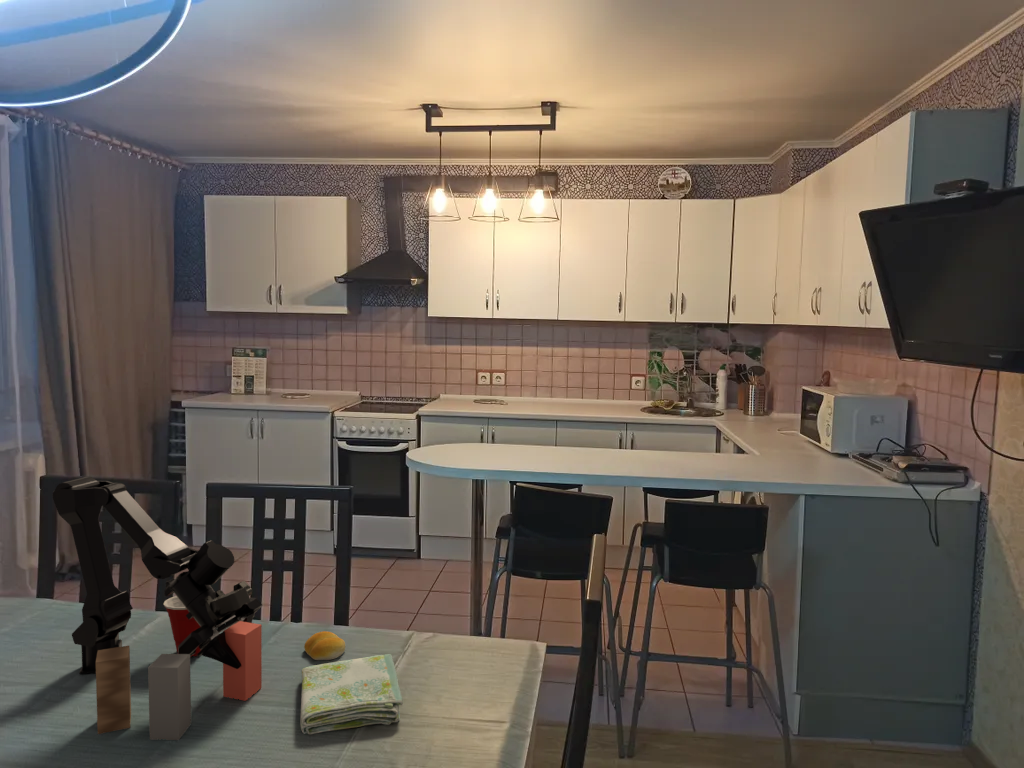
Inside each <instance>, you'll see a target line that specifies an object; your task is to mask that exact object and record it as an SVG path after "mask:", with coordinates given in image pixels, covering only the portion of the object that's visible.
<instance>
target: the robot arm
mask: <svg viewBox="0 0 1024 768" xmlns="http://www.w3.org/2000/svg"><path fill="white" fill-rule="evenodd" d="M52 499H53V500H52V501H53V503H54V506H55V508H56V510H57V514H58V516H60V517H61V518H62V519H63V520H64V521H65V523H67V524H69V526H70V528H71V533H72V536H73V540H74V545H75V549H76V553H77V558H78V562H79V567H80V571H81V575H82V578H83V583H84V587H85V590H86V596H85V599H84V602H83V605H82V608H81V612H82V623H81V624H80V625H79V626H78V627H76V629H74V631H73V632H72V633H71V638H72V640H73V643H74V644H75V645H80V646H81V667H80V669H79V675H83V674H94V673H95V674H96V658H97V652H98V650H103V649H110V648H116V647H123V640H122V639H120V636H119V635H120V633H121V632H124V631H125V630H126V628H127V625H128V623H129V621H130V619H131V618H132V611H133V605H132V604H131V601H130V595H129V592H128V590H124V591H121V590H120V589H119V588H118V587H117V586H115V582H114V579H113V574H112V572H111V571H112V569H111V567H110V561H109V559H108V554H107V549H106V546H105V541H104V538H103V533H102V529H101V525H100V520H99V518H100V514H101V511H102V508H104V509H105V510H106V511H107V512H108V513H109V514H110V515H111V517H112V518H113V520H115V521H116V522H117V523H118V525H119V526H120V527H121V528H122V529H123V530H124V531H125V533H126V534H127V535H128V536H129V537H130V539H131V540H132V541H133V542H134V543H135V544H136V545H137V546H138V548H139V550H140V557H141V561H142V563H143V564H144V566H145V568H146V569H147V571H148V572H149V573H150V575H151V576H152V578H154V579H156V580H158V579H159V580H164V579H165V580H166V579H168V578H170V577H172V576H174V575H177V574H178V573H179V574H178V575H177V576H176V577H175V578H172V579H169V580H167V581H166V582H165V589H164V592H163V595H164V597H165V598H166V597H169V596H171V595H173V594H174V595H175V596H177V597H178V598H179V600H180V601H181V602H182V603H183V605H184V606H185V607H186V609H187V610H188V611H189V613H188V614H187V615H186V617H187V618H188V619H191V618H194V619H195V620H196V621H197V623H198V624H199V625H200V626H201V627H200V628H198V629H196V630H195V631H193V632H191V633H190V634H189V635H188V636H187V637H186V639H185V640H184V641H183V642H182V643H181V644H180V645H179V646H178V652H177V654H178V653H179V654H190V656H192V655H194V654H195V653H196V649H197V647H198V646H199V648H200V650H201V651H200V652H199V653H198V654H197V656H198V657H200V656H203V657H205V658H209V659H210V660H211V659H212V660H214V661H218V662H220V663H222V664H223V663H224V664H226V665H229V666H231V667H233V668H235V669H238V668H240V667H241V663H240V662H239V660H238V658H237V657H236V655H235V654H234V653H233V651H232V650H231V648H230V647H229V646H228V644H227V643H226V638H225V631H224V630H226V629H227V628H229V627H231V626H232V625H234V624H236V623H237V622H239V621H242V622H248V623H253V619H254V617H255V613H256V612H258V611H259V610H260V608H262V607H263V604H262V603H261V602H260V601H259V599H258V598H257V597H250V596H252V594H253V588H251V586H250V585H249V584H248V583H247V582H246V581H245V580H242V581H240V582H238V583H235V584H234V585H233V590H232V591H230V592H227V593H224V591H223V590H221V589H217V590H216V591H215V590H214V589H213V587H212V585H215V584H216V583H217V582H218V581H219V580H220V578H221V577H222V576H224V575H225V574H226V572H228V570H229V569H231V567H232V566H233V565H234V564H235V555H234V554H233V552H232V550H230V548H227V547H226V546H224V545H222V544H216V543H215V542H214V541H213V540H211V539H210V540H208V541H206V542H204V543H203V544H202V545H201V546H200V548H199V549H198V550H197V549H194V548H191V547H189V546H188V545H187V544H185V543H184V542H183V541H181V540H180V539H179V538H178V537H177V536H174V535H172V534H170V533H167V532H165V531H164V530H163V529H161V528H160V527H159V525H157V523H155V521H154V520H153V518H151V516H150V515H149V514H148V513H147V512H146V511H145V510H144V509H143V508H142V507H141V506H140V504H139V503H138V502H137V501H136V500H135V499H134V498H133V496H131V494H130V493H129V491H128V488H127V486H126V485H125V484H124V483H121V482H112V481H109V480H96V479H95V478H94V477H91V476H85V477H81V478H76V479H72V480H68V481H64V482H61V483H58V485H56V486H55V489H54V490H53V491H52ZM187 569H188V570H187ZM185 570H186V571H185ZM197 656H196V657H197Z"/></svg>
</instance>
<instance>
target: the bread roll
mask: <svg viewBox="0 0 1024 768" xmlns="http://www.w3.org/2000/svg"><path fill="white" fill-rule="evenodd" d="M303 648H304V652H305V653H306V654H307V655H308V656H309V657H311V659H313V660H315V661H329V660H330V661H332V660H334V659H337V658H339V657H341V656H342V655H343V653H344V652H345V651H346V642H345V640H344V639H343V638H340V637H339V636H338V635H337V634H336V633H333V632H332V631H327V630H326V631H318V632H316V633H314V634H312V635H311V636H310V637H309V638H308V639H306V641H305V643H304V646H303Z"/></svg>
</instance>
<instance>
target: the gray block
mask: <svg viewBox="0 0 1024 768" xmlns="http://www.w3.org/2000/svg"><path fill="white" fill-rule="evenodd" d="M147 668H148V669H147V671H148V673H147V677H148V685H147V686H148V717H149V718H148V719H149V720H148V721H149V722H148V724H149V740H150V741H151V740H153V741H179V740H180V739H181V738H182V736H183V735H184V734H185V733H186V731H187V730H188V729H189V727H190V726H191V725H192V694H191V693H192V690H191V684H192V683H191V657H190V654H178V653H161V654H159V656H158V657H157V658H156V659H155V660H153V662H152V663H151V664H150V665H149V666H148V667H147ZM190 724H191V725H190ZM158 739H159V740H158ZM161 739H163V740H161ZM164 739H166V740H164Z"/></svg>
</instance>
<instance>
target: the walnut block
mask: <svg viewBox="0 0 1024 768" xmlns="http://www.w3.org/2000/svg"><path fill="white" fill-rule="evenodd" d="M130 648H131V647H130V645H122V647H116V648H110V649H103V650H98V652H97V658H96V673H95V684H96V685H95V686H96V719H97V720H96V721H97V724H96V725H97V735H101V734H105V733H111V732H115V731H121V730H126V729H131V723H132V722H131V721H132V720H131V719H132V701H131V700H132V699H131V698H132V697H131V689H132V688H131V658H130V657H131V655H130V653H131V652H130Z"/></svg>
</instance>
